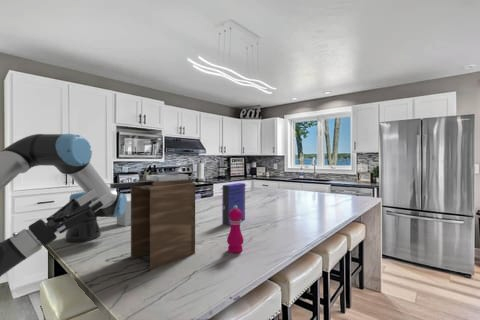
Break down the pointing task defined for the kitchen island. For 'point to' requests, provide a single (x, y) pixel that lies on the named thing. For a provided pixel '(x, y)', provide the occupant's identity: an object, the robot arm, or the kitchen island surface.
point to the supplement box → (125, 215)
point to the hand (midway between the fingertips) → (103, 194)
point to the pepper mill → (235, 231)
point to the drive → (152, 180)
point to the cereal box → (233, 200)
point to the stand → (163, 220)
